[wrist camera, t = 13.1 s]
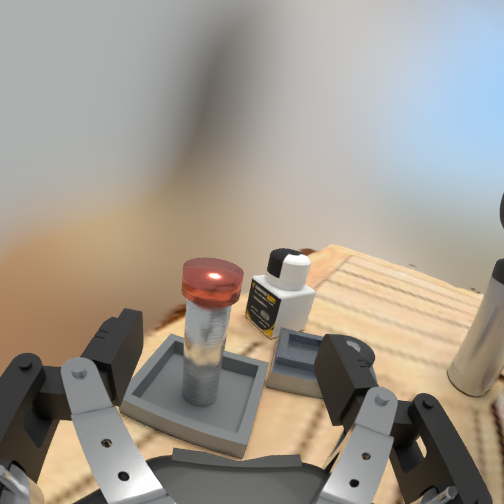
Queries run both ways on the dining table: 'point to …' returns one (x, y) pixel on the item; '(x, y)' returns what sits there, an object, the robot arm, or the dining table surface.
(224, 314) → the pin
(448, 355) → the dining table surface
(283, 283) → the medicine bottle
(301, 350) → the tensioner block
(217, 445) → the tray
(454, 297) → the dining table surface
